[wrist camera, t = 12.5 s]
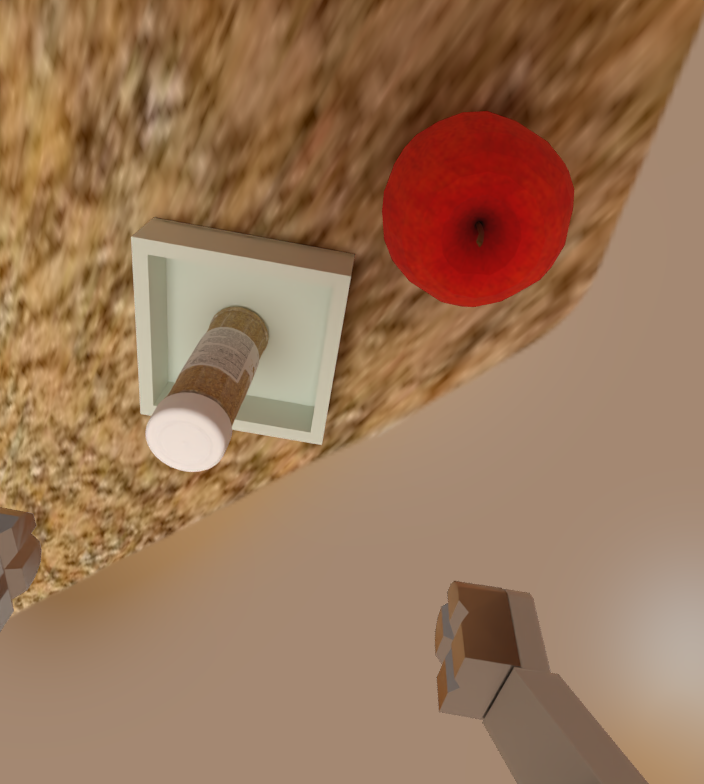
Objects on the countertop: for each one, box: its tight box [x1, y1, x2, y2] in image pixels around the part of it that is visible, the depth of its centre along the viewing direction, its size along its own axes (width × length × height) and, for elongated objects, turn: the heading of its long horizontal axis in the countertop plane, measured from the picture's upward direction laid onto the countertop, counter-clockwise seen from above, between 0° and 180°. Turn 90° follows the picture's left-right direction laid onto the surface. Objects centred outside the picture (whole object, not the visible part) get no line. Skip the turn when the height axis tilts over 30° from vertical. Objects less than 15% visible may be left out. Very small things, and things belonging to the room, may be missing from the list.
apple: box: [382, 111, 574, 307], centre depth 32 cm, size 10×10×12 cm
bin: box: [131, 217, 355, 445], centre depth 42 cm, size 14×14×4 cm
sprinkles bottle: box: [146, 306, 269, 472], centre depth 38 cm, size 5×5×14 cm
